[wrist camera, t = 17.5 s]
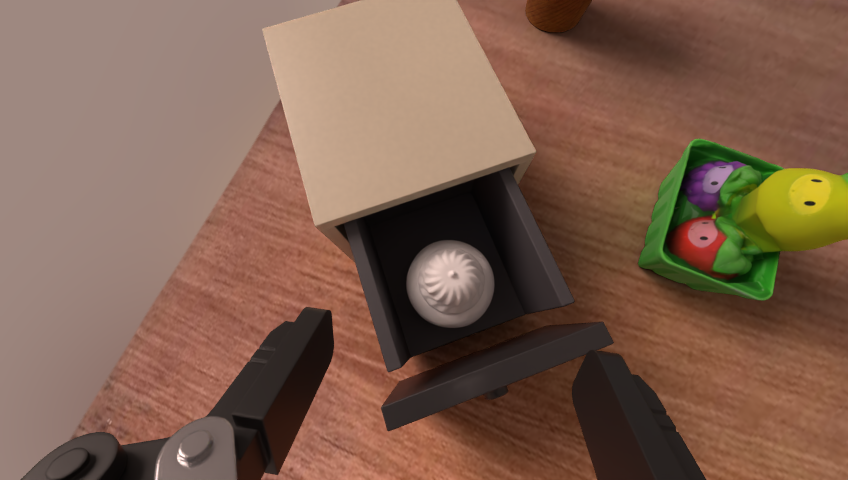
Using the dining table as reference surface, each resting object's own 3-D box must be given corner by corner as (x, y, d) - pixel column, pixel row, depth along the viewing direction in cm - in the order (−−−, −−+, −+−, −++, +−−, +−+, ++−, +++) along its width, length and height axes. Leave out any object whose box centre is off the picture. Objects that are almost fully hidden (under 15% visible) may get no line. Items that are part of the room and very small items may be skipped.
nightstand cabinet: (500, 216, 29) (537, 151, 19) (358, 265, 28) (314, 226, 18) (440, 86, 34) (444, -24, 23) (315, 125, 33) (261, 28, 22)
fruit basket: (650, 166, 30) (772, 72, 19) (747, 201, 29) (935, 123, 18) (617, 272, 27) (738, 232, 17) (723, 316, 26) (929, 305, 15)
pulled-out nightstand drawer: (560, 355, 25) (626, 366, 16) (408, 414, 24) (395, 458, 15) (482, 184, 29) (502, 122, 21) (352, 228, 28) (317, 182, 20)
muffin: (500, 307, 25) (525, 297, 18) (431, 343, 24) (430, 347, 17) (463, 240, 26) (473, 208, 20) (397, 272, 26) (384, 250, 19)
